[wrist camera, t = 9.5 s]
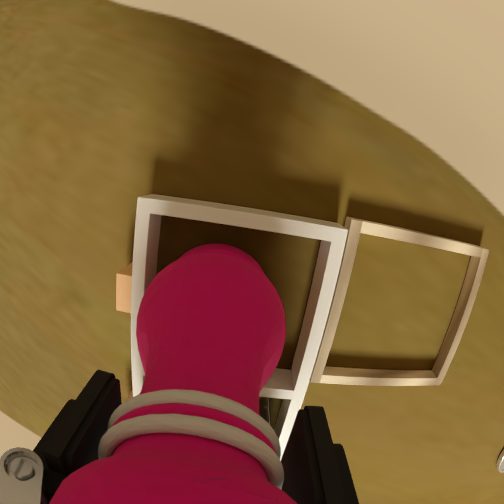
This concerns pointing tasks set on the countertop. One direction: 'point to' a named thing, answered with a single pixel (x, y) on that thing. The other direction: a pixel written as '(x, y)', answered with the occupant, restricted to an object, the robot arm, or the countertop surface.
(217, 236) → the countertop surface
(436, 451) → the countertop surface
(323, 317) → the frame
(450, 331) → the tray frame
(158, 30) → the countertop surface
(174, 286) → the pepper mill
